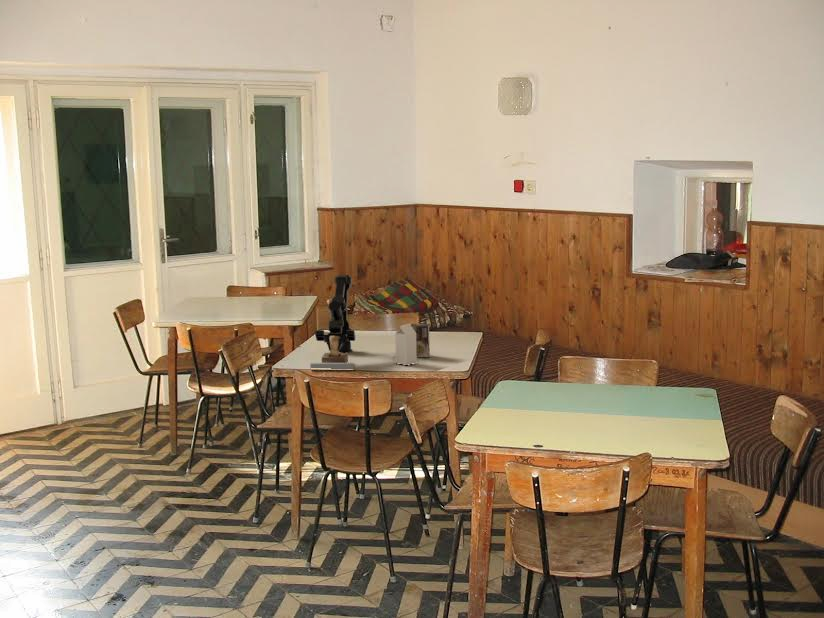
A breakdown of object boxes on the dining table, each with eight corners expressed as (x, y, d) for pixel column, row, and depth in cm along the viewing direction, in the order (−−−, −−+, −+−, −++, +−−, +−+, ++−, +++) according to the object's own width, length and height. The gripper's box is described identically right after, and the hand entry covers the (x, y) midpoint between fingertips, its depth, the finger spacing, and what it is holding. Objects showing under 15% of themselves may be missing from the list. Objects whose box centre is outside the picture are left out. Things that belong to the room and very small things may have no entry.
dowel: (329, 362, 455) (328, 336, 453) (337, 361, 457) (336, 335, 454) (332, 364, 451) (331, 337, 449) (340, 363, 453) (339, 336, 451)
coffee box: (430, 355, 474) (429, 323, 471) (428, 358, 467) (428, 325, 464) (411, 355, 475) (411, 323, 472) (410, 358, 468) (409, 325, 465)
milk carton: (416, 363, 456) (416, 324, 453) (406, 366, 451) (405, 326, 448) (405, 361, 461) (405, 322, 458) (395, 364, 456) (394, 325, 453)
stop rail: (311, 370, 447) (311, 362, 446) (353, 370, 446) (353, 362, 445) (310, 371, 445) (310, 363, 444) (353, 371, 444) (353, 363, 443)
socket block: (325, 362, 461) (325, 352, 460) (348, 362, 460) (347, 352, 459) (321, 368, 450) (321, 357, 449) (345, 368, 449) (344, 357, 448)
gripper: (315, 313, 454) (312, 341, 446) (354, 313, 453) (351, 340, 444) (318, 326, 464) (315, 353, 455) (356, 326, 462) (354, 353, 453)
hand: (334, 350), depth 452 cm, fingers closed on dowel, 4 cm apart
